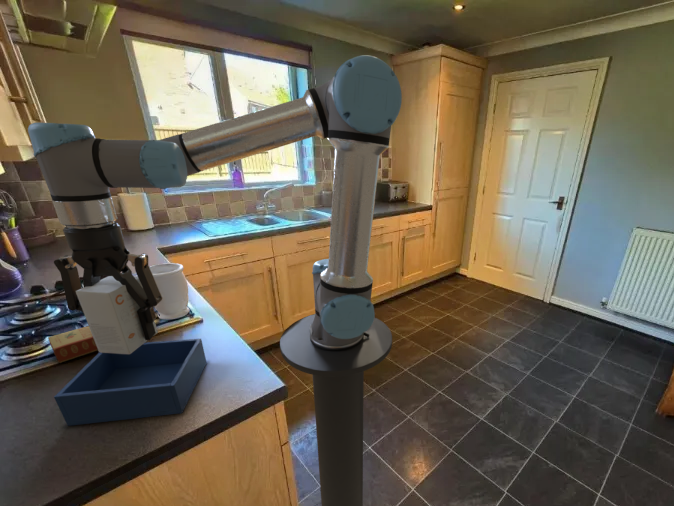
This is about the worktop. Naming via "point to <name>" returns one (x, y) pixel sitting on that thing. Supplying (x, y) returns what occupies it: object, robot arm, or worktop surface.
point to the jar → (171, 290)
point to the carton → (73, 344)
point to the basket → (134, 383)
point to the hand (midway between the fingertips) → (128, 337)
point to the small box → (112, 316)
